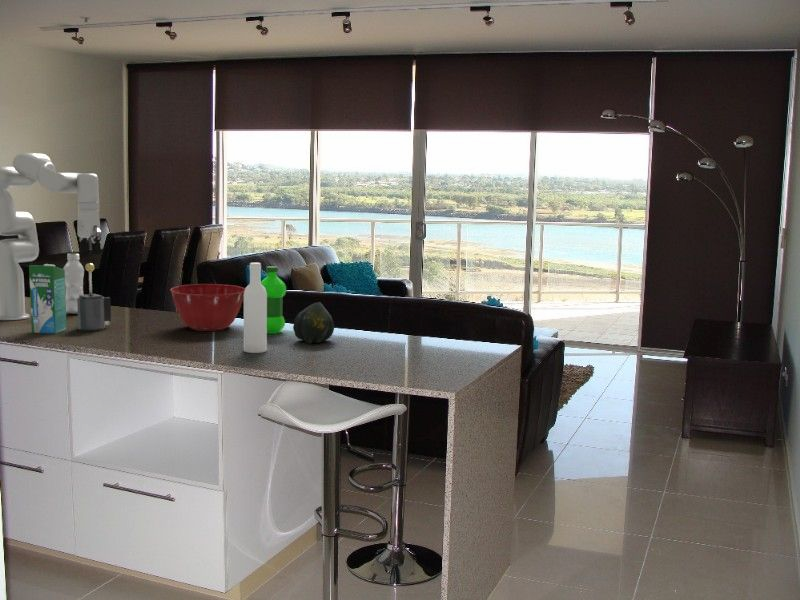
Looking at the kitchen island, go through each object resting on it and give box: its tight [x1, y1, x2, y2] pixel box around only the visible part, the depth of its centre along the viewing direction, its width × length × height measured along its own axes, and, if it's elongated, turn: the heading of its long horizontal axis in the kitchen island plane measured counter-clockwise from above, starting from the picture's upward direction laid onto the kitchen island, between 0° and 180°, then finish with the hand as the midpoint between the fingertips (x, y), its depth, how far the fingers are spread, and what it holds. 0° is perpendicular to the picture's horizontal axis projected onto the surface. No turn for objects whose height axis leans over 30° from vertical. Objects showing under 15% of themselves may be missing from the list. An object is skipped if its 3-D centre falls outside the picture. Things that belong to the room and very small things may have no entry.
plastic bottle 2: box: [261, 265, 287, 335], centre depth 330 cm, size 10×10×25 cm
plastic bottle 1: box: [63, 253, 85, 315], centre depth 361 cm, size 8×8×25 cm
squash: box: [292, 301, 335, 345], centre depth 315 cm, size 14×15×15 cm
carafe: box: [77, 293, 112, 332], centre depth 330 cm, size 9×12×13 cm
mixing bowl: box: [169, 283, 246, 332], centre depth 336 cm, size 28×28×16 cm
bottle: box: [243, 262, 268, 354], centre depth 294 cm, size 8×8×30 cm
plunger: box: [85, 262, 95, 296], centre depth 327 cm, size 6×6×16 cm
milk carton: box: [28, 263, 67, 335], centre depth 322 cm, size 9×9×25 cm
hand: (90, 253), depth 325 cm, fingers open, 9 cm apart
